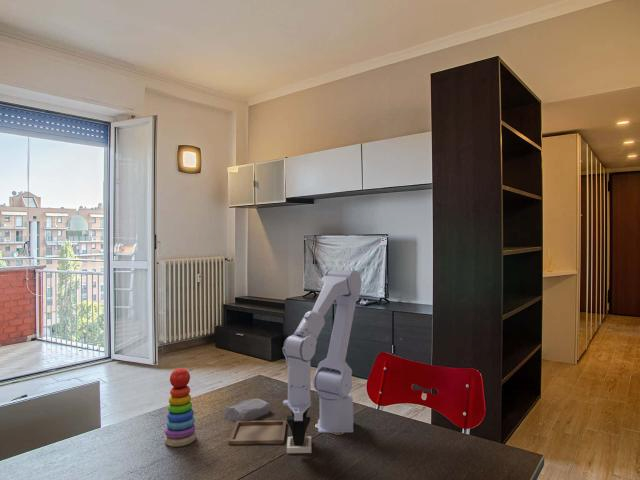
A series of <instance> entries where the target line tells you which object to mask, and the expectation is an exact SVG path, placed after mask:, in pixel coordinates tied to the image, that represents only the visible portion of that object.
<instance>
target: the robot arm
mask: <svg viewBox="0 0 640 480" xmlns="http://www.w3.org/2000/svg"><path fill="white" fill-rule="evenodd" d="M362 281H363V280H362V278H361V274H360V273H359V271H358V270H357V269H353V270H351V269H350V270H348V269H347V270H346V269H345V270H344V269H333V268H329V269H326V271H324V274H323V276H322V279H321V284H322V285H321V286H322V288H321V291H320V293H319V294H318V297H317V298H316V301H315V303H314V305H313V307H312V310H309V311H307V312H305V314H304V316H303V317H302V319H301V321H300V323H299V324H298V326H297V328H296V329H295V331H294V333H293V334H291V335H289V336H288V337H286V339H285V340H284V342H283V347H282V353H283V356H284V357H285V363H286V365H287V399H284V400H283V401H282V405H283V406H287V407H288V408H289V409H290V411H291V415H286V423H287V424H288V426H289V428H290V431H291V437H293V442H294V445H295V446H303V444H304V439H305V433H307V428H308V426H309V424H310V422H311V416H307V414H308V411H309V409H310V407H311V406H312V400H311V360H312V359H313V357H314V356H315V354H316V347H317V343H318V340H317V339H318V337H319V336H320V334H321V331H322V330H323V327H324V326H325V324H326V322H325V321H326V320H325V318H324V317H325V315H326V314H327V312H328V311H329V310H330V307H331V306H332V305H333V303H334V302H336V303H337V305H336V310H335V315H334V319H333V325H332V330H331V335H330V340H329V346H328V350H327V355H326V358H324V359H323V360H321V361H320V362H318V365H317V368H316V371H315V372H314V375H313V379H312V385H313V389H314V390H315V391H316V392H317V393H316V394H317V395H318V396H319V419H317V430H318V432H317V433H320V434H325V433H326V434H327V433H335V434H336V433H354V422H355V420H354V419H355V418H354V402H353V401H354V399H353V395H352V394H350V393H351V390H352V387H353V381H352V375H353V370H352V368H351V367H350V366H349V365H348V363H347V362H346V357H347V353H348V346H349V343H350V342H349V340H350V336H351V331H352V325H353V320H354V314H355V309H356V304H357V303H356V302H358V301H359V300H360V295H361V291H362V290H361V288H362V284H363V282H362ZM335 370H336V371H335Z"/></svg>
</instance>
